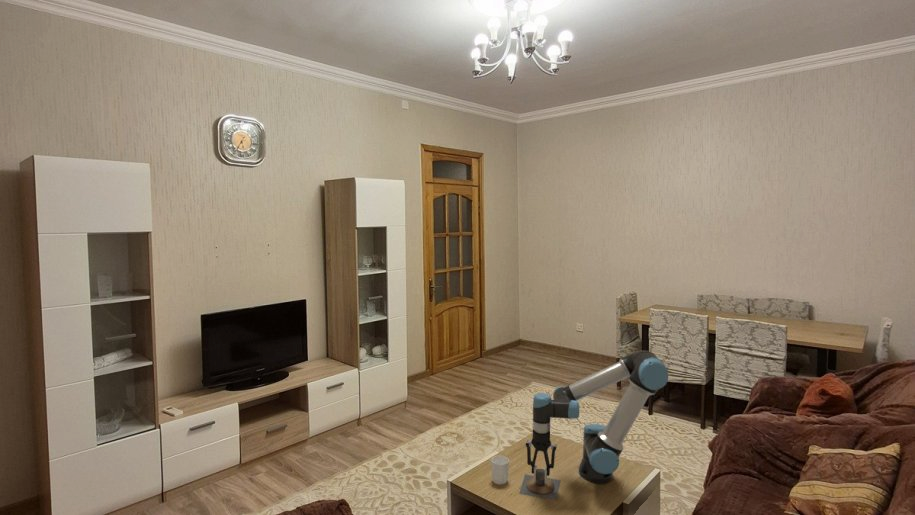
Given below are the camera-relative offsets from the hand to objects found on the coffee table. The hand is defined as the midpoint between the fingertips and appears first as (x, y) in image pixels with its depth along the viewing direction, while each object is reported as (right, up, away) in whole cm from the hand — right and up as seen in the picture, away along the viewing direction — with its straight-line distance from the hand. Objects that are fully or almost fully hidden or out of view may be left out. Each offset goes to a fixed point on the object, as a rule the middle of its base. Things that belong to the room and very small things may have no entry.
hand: (540, 480), depth 216 cm
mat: (0, -3, 0) cm, 3 cm away
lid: (0, -3, 0) cm, 3 cm away
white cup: (-17, -3, +5) cm, 18 cm away
